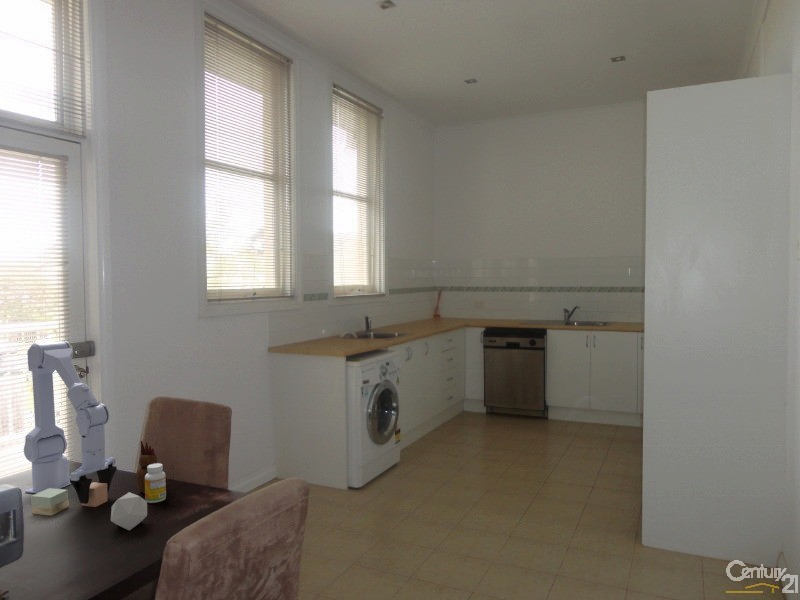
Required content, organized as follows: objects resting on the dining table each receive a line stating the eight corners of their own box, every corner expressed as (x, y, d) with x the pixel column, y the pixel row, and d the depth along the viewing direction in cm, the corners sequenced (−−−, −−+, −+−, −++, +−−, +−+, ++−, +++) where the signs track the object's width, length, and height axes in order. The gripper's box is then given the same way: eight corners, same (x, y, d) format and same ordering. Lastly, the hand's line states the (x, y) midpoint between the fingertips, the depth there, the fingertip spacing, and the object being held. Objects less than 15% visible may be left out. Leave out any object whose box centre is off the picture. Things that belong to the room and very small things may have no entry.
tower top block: (49, 497, 163) (49, 488, 163) (68, 498, 162) (67, 489, 162) (31, 505, 157) (31, 495, 157) (50, 507, 156) (50, 497, 156)
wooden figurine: (132, 493, 171) (130, 442, 171) (147, 487, 177) (146, 437, 176) (150, 496, 169) (148, 444, 168) (165, 489, 174) (164, 439, 174)
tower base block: (50, 506, 163) (50, 497, 163) (68, 508, 162) (68, 499, 162) (32, 514, 157) (32, 505, 157) (51, 516, 156) (51, 507, 156)
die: (155, 527, 149) (154, 490, 154) (132, 523, 142) (131, 483, 147) (126, 537, 150) (126, 500, 155) (102, 533, 143) (103, 494, 148)
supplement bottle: (146, 497, 168) (145, 463, 168) (166, 495, 170) (165, 461, 169) (144, 504, 163) (143, 469, 163) (165, 501, 165) (164, 467, 164)
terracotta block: (93, 499, 167) (93, 482, 167) (107, 501, 166) (107, 483, 166) (81, 505, 163) (81, 487, 162) (95, 507, 161) (95, 488, 161)
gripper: (85, 458, 156) (87, 509, 156) (124, 443, 170) (125, 489, 170) (63, 456, 157) (64, 506, 158) (103, 441, 171) (104, 488, 172)
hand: (94, 497), depth 164 cm, fingers open, 7 cm apart
